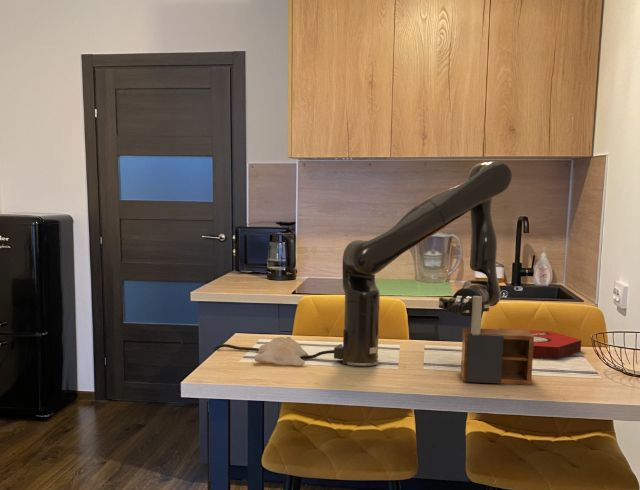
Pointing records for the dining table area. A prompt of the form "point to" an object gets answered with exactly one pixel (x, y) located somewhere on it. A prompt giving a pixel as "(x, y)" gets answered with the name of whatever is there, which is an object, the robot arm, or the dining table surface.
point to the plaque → (553, 345)
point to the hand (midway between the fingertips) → (456, 309)
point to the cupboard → (507, 354)
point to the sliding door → (483, 350)
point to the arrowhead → (281, 352)
